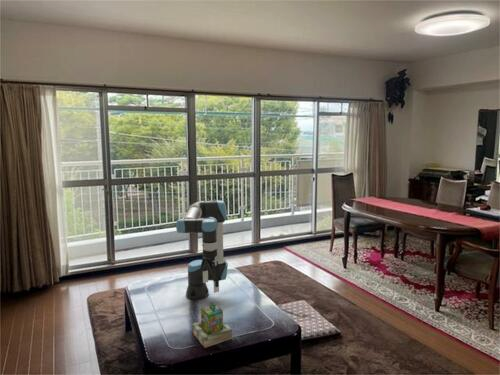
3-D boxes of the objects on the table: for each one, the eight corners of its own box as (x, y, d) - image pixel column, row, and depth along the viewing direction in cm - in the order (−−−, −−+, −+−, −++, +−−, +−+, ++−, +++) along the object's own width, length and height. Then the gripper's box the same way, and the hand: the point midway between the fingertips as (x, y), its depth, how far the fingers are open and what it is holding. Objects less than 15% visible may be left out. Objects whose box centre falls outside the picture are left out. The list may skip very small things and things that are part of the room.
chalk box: (200, 328, 197) (199, 302, 195) (215, 322, 202) (214, 298, 200) (208, 336, 190) (208, 309, 187) (223, 330, 195) (223, 304, 192)
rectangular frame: (192, 332, 200) (192, 323, 199) (218, 324, 208) (218, 315, 207) (204, 348, 186) (204, 338, 185) (232, 338, 194) (231, 329, 193)
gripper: (193, 243, 197) (195, 280, 201) (213, 257, 176) (214, 298, 180) (206, 241, 201) (207, 277, 205) (227, 254, 180) (227, 294, 183)
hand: (210, 287), depth 192 cm, fingers open, 13 cm apart
